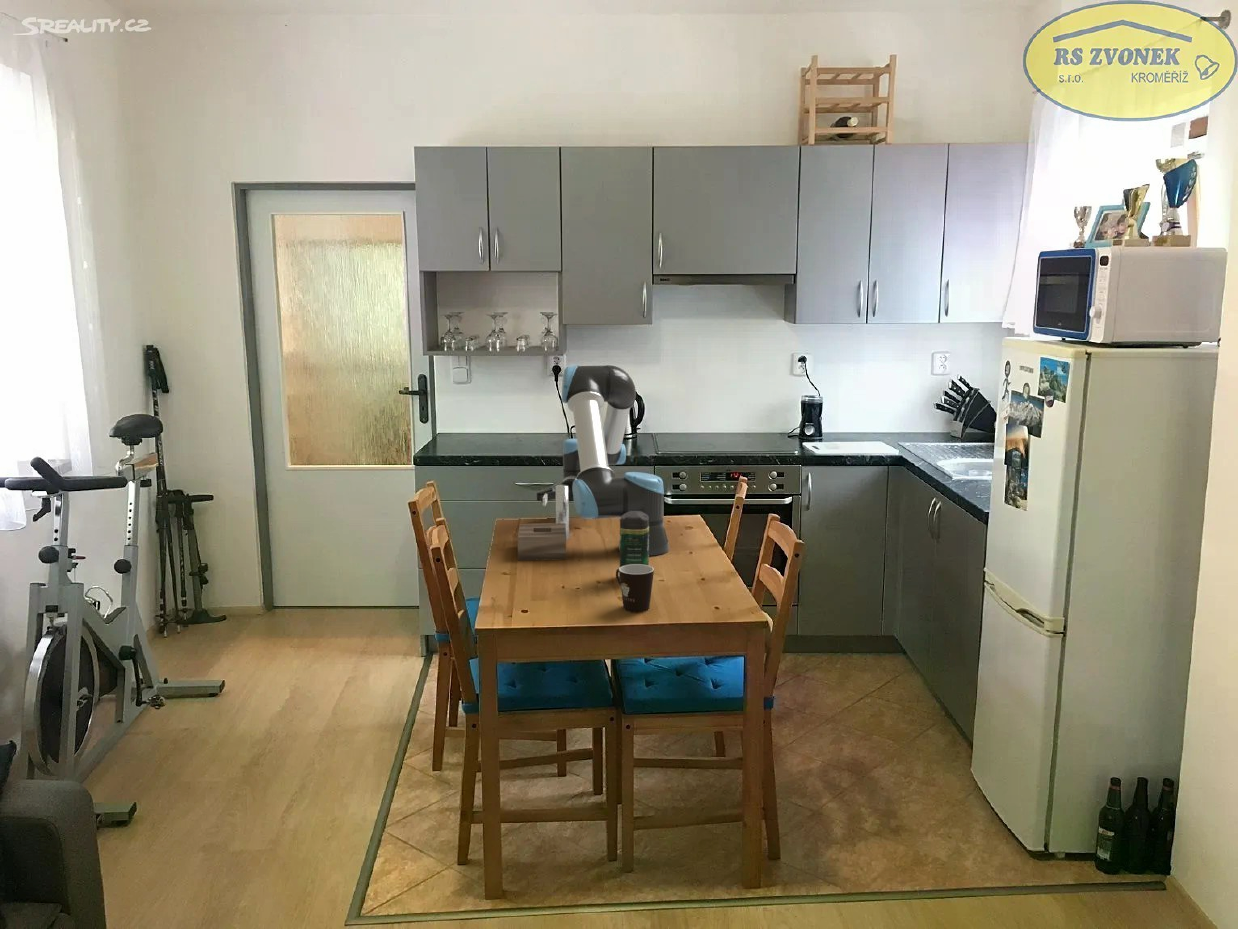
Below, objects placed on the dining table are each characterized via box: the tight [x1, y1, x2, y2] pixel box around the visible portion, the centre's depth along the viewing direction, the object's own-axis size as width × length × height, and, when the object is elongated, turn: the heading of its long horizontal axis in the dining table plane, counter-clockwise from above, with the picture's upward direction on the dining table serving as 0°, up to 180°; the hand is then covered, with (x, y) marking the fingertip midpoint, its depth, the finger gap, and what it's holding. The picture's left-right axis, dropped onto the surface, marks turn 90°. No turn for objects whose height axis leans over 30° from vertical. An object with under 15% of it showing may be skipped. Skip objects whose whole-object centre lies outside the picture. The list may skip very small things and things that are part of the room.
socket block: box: [517, 522, 567, 561], centre depth 289 cm, size 16×14×7 cm
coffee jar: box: [619, 511, 650, 568], centre depth 261 cm, size 10×8×19 cm
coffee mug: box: [615, 564, 655, 613], centre depth 239 cm, size 12×9×10 cm
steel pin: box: [555, 484, 570, 541], centre depth 304 cm, size 4×4×17 cm
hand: (564, 502), depth 312 cm, fingers open, 13 cm apart
